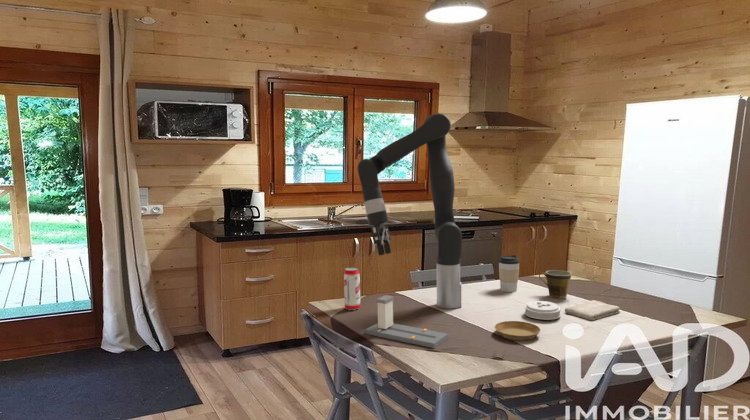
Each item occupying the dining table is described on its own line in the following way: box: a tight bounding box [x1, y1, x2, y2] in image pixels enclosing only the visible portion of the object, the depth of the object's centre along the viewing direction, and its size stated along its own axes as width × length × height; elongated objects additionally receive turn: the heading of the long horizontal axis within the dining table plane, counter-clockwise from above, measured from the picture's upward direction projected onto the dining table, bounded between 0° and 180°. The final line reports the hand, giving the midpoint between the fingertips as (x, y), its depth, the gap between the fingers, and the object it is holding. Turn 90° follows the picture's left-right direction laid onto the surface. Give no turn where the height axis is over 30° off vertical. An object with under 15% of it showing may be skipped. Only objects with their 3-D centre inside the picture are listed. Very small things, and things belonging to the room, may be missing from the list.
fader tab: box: [376, 294, 395, 329], centre depth 180 cm, size 3×5×10 cm, turn 147°
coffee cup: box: [497, 254, 520, 293], centre depth 229 cm, size 9×9×15 cm
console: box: [365, 322, 449, 349], centre depth 176 cm, size 26×10×2 cm, turn 57°
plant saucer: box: [494, 320, 541, 342], centre depth 175 cm, size 15×15×3 cm
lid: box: [524, 300, 562, 321], centre depth 194 cm, size 13×13×5 cm
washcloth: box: [564, 299, 621, 321], centre depth 197 cm, size 12×18×3 cm, turn 123°
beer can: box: [343, 266, 361, 311], centre depth 206 cm, size 6×6×16 cm
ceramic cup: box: [538, 269, 572, 300], centre depth 219 cm, size 13×10×10 cm
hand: (385, 254), depth 196 cm, fingers open, 8 cm apart
